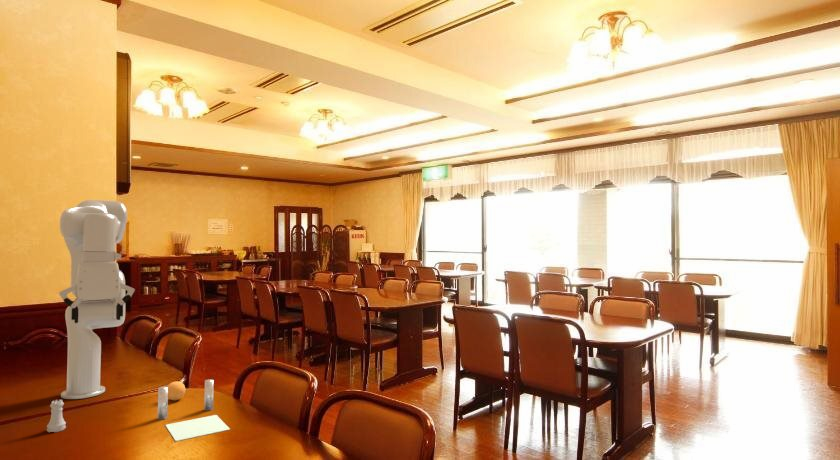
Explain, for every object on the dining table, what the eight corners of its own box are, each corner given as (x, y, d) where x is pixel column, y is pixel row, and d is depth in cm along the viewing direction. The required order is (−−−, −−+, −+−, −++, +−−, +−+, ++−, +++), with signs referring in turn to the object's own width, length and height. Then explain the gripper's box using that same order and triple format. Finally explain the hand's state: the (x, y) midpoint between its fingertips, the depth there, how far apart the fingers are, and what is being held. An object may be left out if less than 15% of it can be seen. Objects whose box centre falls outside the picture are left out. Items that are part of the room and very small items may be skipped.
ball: (163, 399, 165) (163, 381, 165) (183, 395, 169) (183, 378, 169) (167, 404, 160) (167, 385, 160) (187, 400, 164) (187, 382, 164)
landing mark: (165, 425, 142) (165, 424, 142) (216, 415, 150) (216, 414, 150) (175, 441, 131) (175, 440, 131) (230, 429, 139) (230, 428, 139)
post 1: (156, 417, 148) (157, 387, 148) (166, 415, 149) (167, 385, 150) (158, 420, 146) (159, 389, 146) (168, 418, 147) (168, 388, 148)
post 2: (203, 409, 156) (203, 380, 156) (211, 407, 157) (212, 378, 158) (205, 411, 154) (205, 382, 154) (214, 409, 155) (214, 380, 155)
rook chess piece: (55, 433, 135) (56, 404, 135) (42, 432, 136) (42, 403, 136) (70, 427, 140) (70, 399, 140) (57, 426, 140) (57, 398, 141)
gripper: (133, 257, 144) (132, 316, 143) (59, 258, 133) (58, 321, 133) (137, 258, 138) (135, 319, 137) (60, 259, 127) (58, 325, 127)
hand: (97, 320), depth 135 cm, fingers open, 9 cm apart
